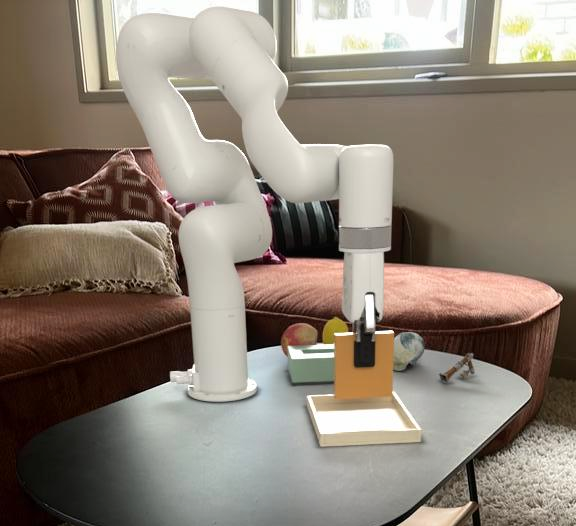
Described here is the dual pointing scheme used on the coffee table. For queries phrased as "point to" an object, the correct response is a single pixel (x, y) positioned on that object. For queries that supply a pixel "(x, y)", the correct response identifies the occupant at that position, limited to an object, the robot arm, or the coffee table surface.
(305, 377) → the toaster
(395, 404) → the tray
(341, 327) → the lemon
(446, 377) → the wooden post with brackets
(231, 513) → the coffee table surface
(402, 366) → the seashell
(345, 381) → the toast
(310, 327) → the fruit
